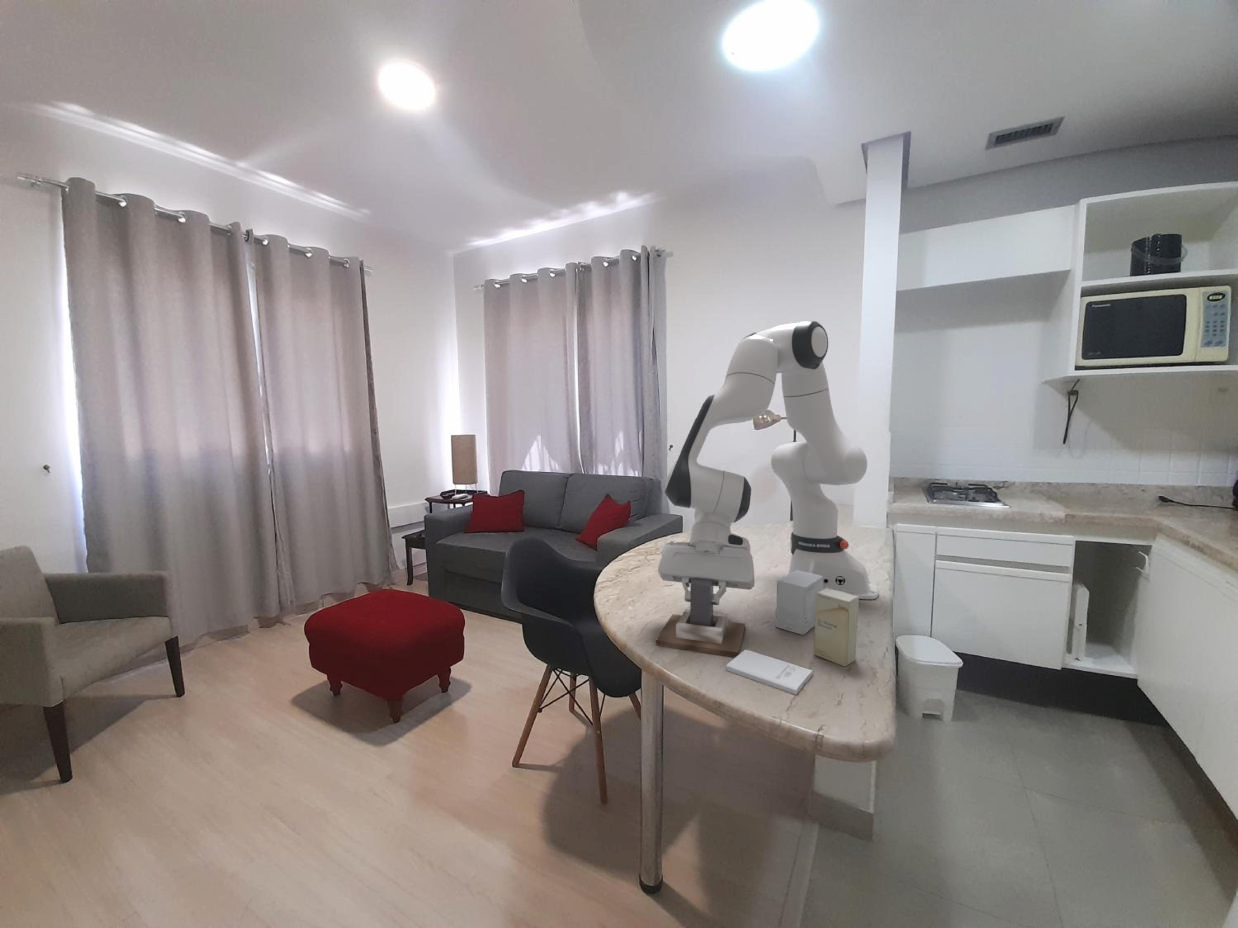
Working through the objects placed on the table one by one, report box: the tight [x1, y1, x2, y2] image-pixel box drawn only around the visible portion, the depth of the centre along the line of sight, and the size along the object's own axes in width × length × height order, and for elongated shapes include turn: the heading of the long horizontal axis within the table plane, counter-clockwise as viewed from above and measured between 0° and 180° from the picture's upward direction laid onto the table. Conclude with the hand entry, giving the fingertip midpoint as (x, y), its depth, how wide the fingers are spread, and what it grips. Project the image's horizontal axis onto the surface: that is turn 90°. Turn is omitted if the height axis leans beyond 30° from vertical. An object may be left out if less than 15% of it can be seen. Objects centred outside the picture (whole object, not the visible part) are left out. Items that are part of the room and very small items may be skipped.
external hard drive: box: [725, 649, 814, 695], centre depth 83 cm, size 2×8×12 cm
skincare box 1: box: [774, 570, 823, 636], centre depth 103 cm, size 10×6×10 cm, turn 137°
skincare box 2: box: [813, 588, 860, 667], centre depth 88 cm, size 6×4×12 cm
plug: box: [689, 578, 714, 627], centre depth 97 cm, size 4×4×9 cm
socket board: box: [655, 608, 746, 658], centre depth 97 cm, size 16×14×4 cm
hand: (701, 602), depth 96 cm, fingers closed on plug, 4 cm apart
